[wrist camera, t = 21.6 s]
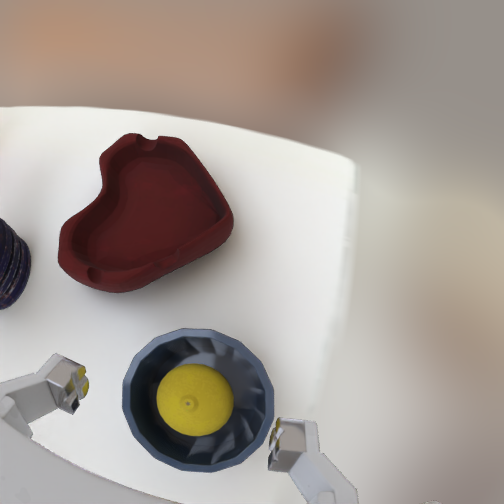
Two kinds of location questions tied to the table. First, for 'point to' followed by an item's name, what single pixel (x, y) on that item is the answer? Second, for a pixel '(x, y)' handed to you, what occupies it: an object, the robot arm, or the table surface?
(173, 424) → the lemon
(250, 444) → the cup
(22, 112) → the table surface
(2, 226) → the dark blue barrel
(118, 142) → the ashtray
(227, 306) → the table surface
